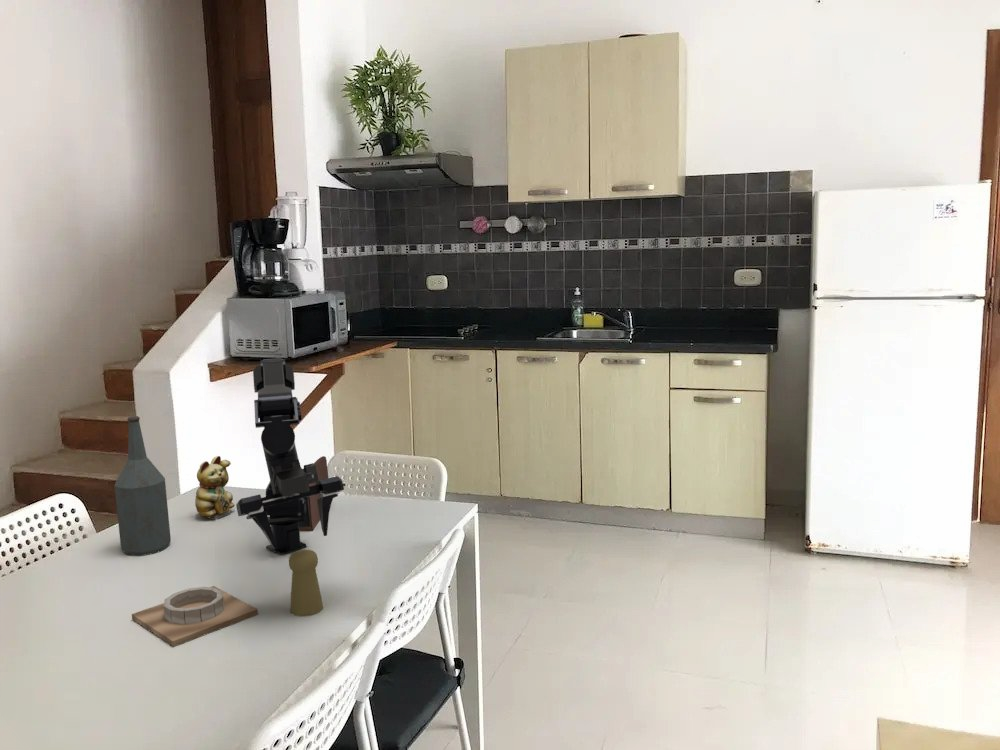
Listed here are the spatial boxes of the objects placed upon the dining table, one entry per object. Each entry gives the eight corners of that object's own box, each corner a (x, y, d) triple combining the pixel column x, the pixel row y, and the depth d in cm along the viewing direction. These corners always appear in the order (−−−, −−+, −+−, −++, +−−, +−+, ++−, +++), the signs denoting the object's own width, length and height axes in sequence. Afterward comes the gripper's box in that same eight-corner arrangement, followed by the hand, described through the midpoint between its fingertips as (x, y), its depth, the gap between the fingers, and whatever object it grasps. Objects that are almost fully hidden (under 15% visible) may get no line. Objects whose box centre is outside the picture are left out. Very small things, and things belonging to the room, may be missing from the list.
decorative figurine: (214, 523, 203) (208, 463, 200) (186, 520, 206) (181, 460, 203) (239, 510, 212) (235, 453, 209) (213, 508, 215) (208, 451, 212)
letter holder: (331, 505, 215) (327, 451, 213) (312, 532, 195) (309, 473, 193) (292, 506, 215) (288, 452, 213) (270, 533, 195) (265, 474, 193)
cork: (315, 617, 150) (311, 559, 149) (284, 615, 152) (279, 557, 150) (328, 602, 156) (324, 546, 154) (298, 601, 157) (294, 545, 156)
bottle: (123, 559, 181) (108, 423, 176) (120, 545, 190) (106, 415, 185) (173, 550, 186) (161, 417, 181) (168, 536, 194) (156, 410, 189)
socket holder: (132, 619, 152) (130, 601, 151) (214, 590, 163) (212, 573, 163) (173, 646, 141) (171, 627, 140) (258, 614, 152) (256, 596, 152)
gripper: (234, 465, 143) (253, 555, 141) (340, 441, 151) (360, 527, 149) (228, 472, 153) (246, 556, 151) (328, 450, 161) (346, 530, 159)
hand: (300, 542), depth 153 cm, fingers open, 9 cm apart
